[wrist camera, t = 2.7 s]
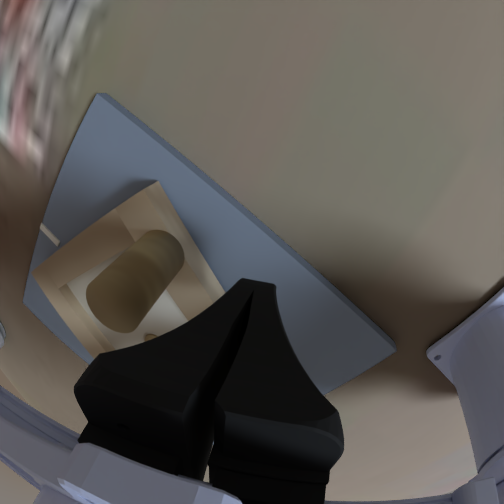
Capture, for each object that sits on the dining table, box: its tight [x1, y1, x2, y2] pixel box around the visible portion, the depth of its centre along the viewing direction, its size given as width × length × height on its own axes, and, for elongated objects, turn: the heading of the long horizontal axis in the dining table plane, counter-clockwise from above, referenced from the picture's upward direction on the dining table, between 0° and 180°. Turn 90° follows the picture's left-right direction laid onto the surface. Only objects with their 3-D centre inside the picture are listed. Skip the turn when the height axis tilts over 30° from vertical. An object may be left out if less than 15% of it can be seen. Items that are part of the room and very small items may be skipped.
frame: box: [31, 181, 226, 359], centre depth 16 cm, size 16×12×6 cm
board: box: [23, 93, 397, 444], centre depth 20 cm, size 22×20×1 cm
